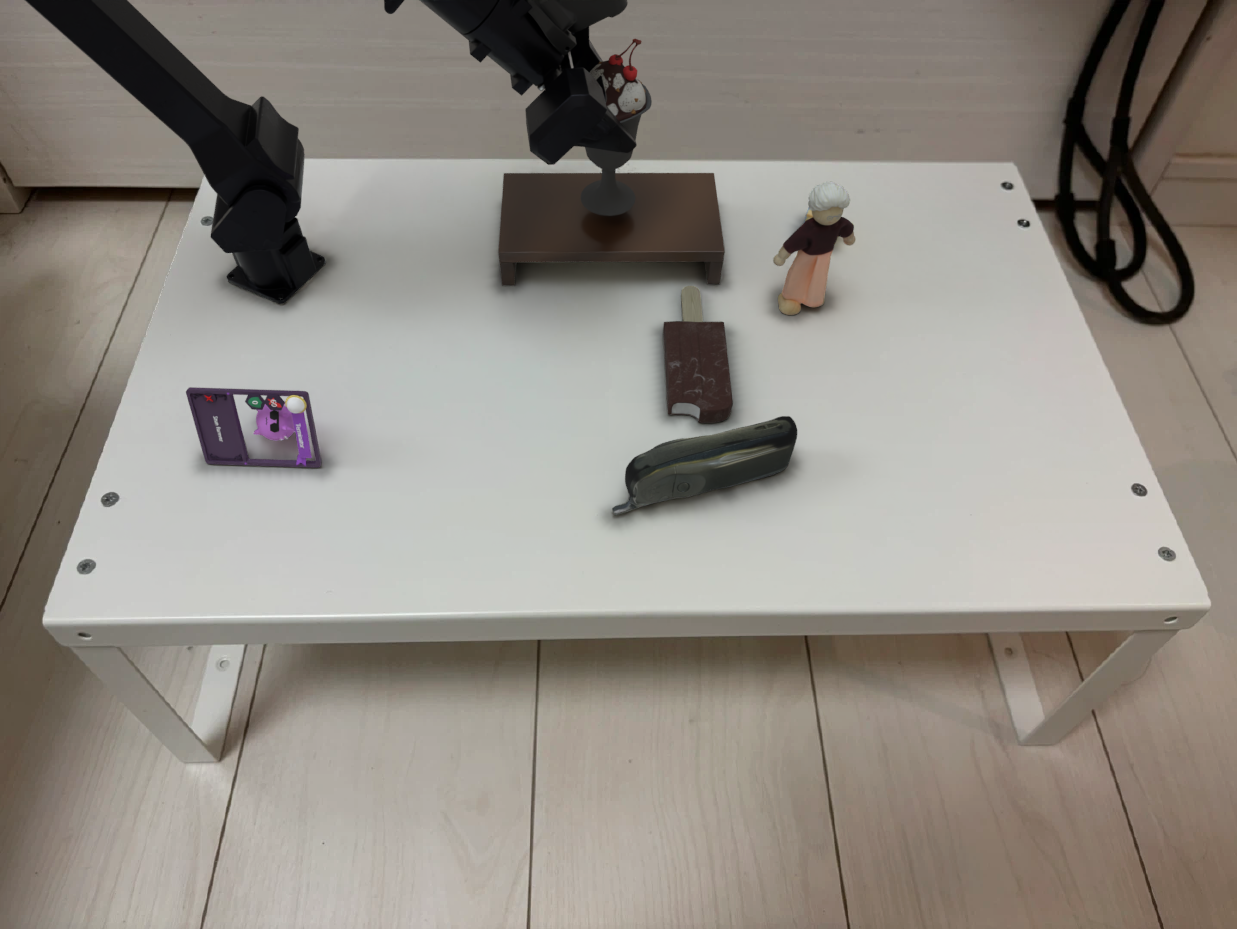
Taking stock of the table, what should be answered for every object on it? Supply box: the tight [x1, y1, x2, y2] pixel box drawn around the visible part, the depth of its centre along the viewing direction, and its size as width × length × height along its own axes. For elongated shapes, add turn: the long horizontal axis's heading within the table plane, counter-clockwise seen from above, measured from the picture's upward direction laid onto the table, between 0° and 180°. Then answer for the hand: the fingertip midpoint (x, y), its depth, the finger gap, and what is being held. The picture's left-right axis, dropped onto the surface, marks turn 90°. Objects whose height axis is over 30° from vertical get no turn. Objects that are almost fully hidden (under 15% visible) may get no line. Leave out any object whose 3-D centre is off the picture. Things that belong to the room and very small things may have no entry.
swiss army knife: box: [611, 415, 798, 516], centre depth 71 cm, size 5×3×15 cm
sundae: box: [581, 38, 653, 216], centre depth 78 cm, size 7×7×15 cm
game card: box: [185, 387, 323, 468], centre depth 72 cm, size 7×5×9 cm
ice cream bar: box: [662, 285, 734, 424], centre depth 80 cm, size 5×2×15 cm
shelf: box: [497, 172, 726, 287], centre depth 87 cm, size 20×11×4 cm, turn 92°
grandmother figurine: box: [772, 180, 857, 316], centre depth 79 cm, size 8×4×13 cm, turn 123°
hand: (626, 123), depth 78 cm, fingers closed on sundae, 6 cm apart
